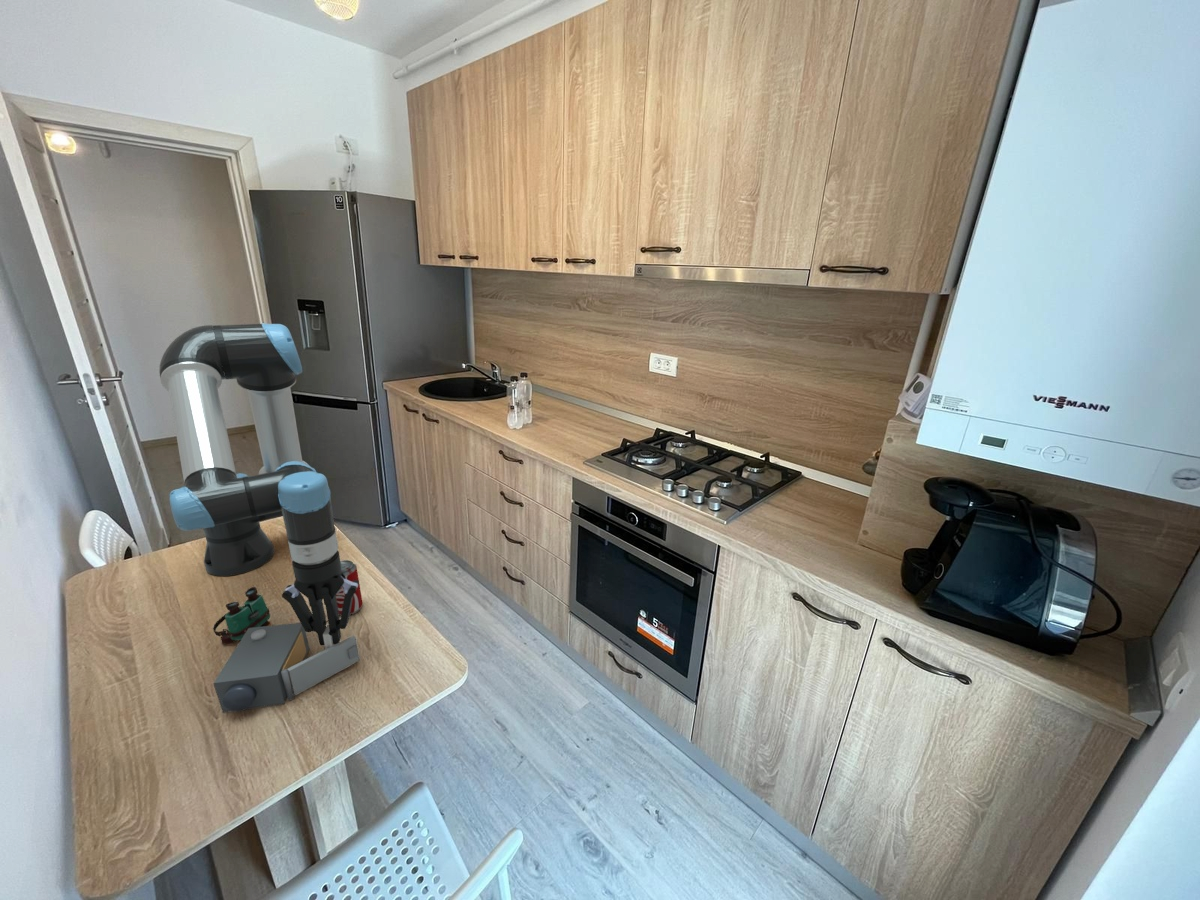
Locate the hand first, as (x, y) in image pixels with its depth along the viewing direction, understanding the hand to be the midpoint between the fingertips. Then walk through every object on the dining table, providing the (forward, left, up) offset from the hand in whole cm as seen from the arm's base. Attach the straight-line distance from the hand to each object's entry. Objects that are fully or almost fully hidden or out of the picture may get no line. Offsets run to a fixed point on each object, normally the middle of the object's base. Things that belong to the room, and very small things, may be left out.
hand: (333, 655), depth 97 cm
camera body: (+1, -12, -3) cm, 12 cm away
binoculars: (-13, -22, -3) cm, 26 cm away
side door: (+3, -1, -3) cm, 4 cm away
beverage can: (-18, -2, -3) cm, 19 cm away
